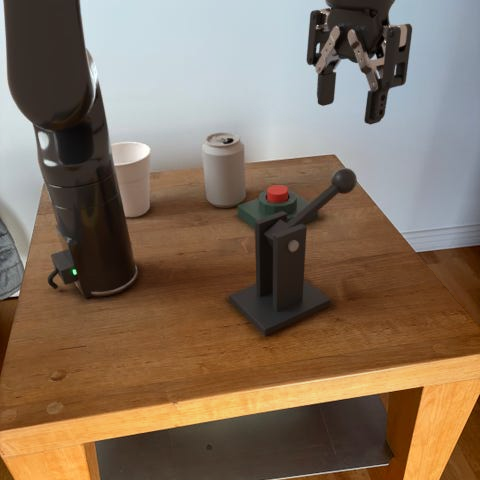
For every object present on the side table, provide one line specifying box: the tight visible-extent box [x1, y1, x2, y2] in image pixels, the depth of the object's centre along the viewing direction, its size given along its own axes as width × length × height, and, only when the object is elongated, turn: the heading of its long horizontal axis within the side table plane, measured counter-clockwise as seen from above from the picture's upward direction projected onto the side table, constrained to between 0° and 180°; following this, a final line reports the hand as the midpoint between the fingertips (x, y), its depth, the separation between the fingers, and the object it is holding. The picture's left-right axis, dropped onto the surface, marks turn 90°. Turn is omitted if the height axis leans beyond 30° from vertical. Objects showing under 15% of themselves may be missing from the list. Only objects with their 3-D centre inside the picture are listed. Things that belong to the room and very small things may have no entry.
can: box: [201, 131, 247, 209], centre depth 91 cm, size 8×8×12 cm
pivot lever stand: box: [228, 211, 331, 337], centre depth 66 cm, size 11×9×13 cm
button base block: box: [237, 188, 319, 230], centre depth 88 cm, size 11×9×4 cm
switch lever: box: [264, 167, 358, 247], centre depth 64 cm, size 14×3×3 cm, turn 122°
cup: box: [111, 141, 152, 218], centre depth 89 cm, size 10×10×11 cm
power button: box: [267, 184, 289, 203], centre depth 86 cm, size 4×4×2 cm
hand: (348, 113), depth 62 cm, fingers open, 8 cm apart
